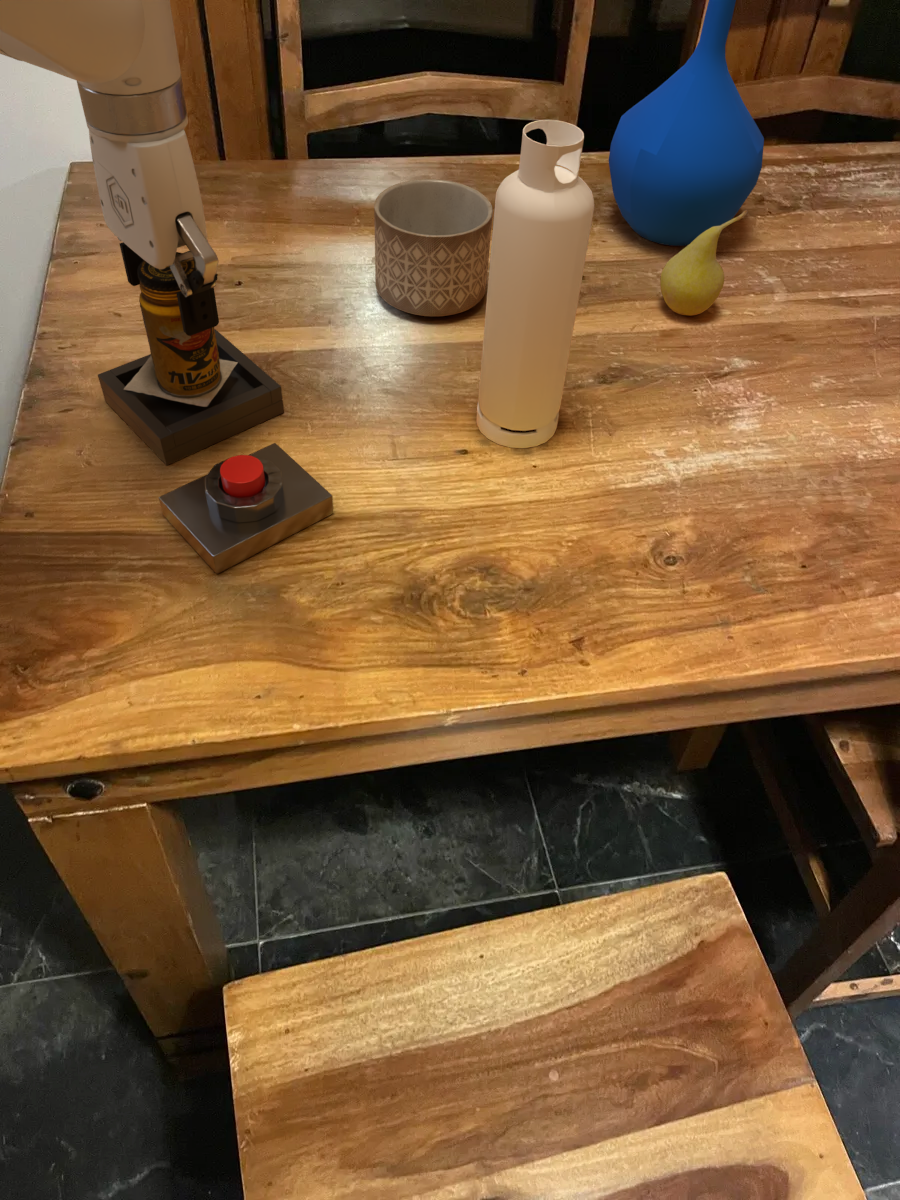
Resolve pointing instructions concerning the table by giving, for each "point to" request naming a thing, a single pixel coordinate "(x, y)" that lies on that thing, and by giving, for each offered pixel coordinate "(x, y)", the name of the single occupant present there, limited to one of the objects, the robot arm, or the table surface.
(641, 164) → the vase
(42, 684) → the table surface
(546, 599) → the table surface
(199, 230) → the robot arm
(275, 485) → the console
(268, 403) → the tray
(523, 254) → the bottle
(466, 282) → the planter
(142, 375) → the condiment
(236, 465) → the button
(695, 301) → the fruit
